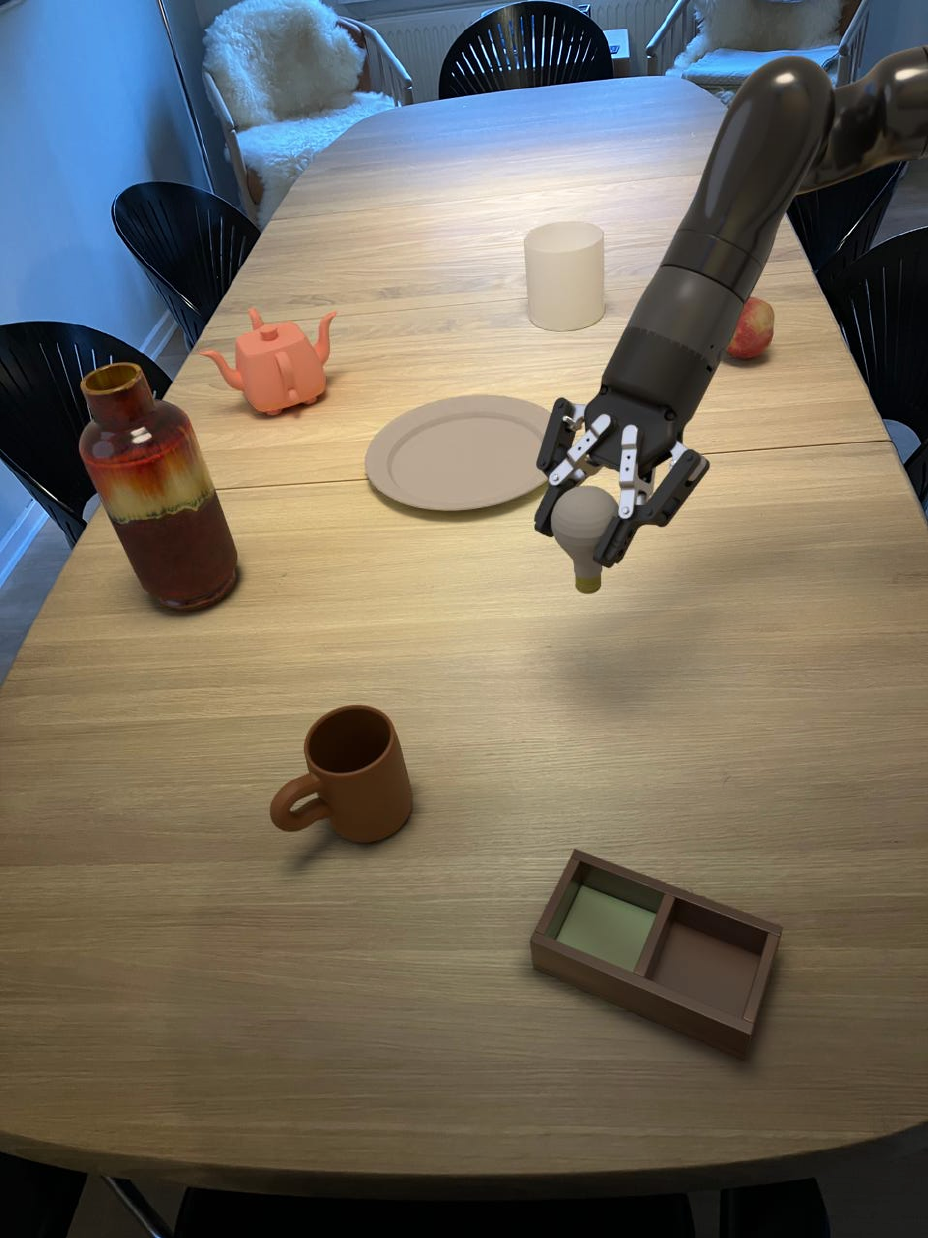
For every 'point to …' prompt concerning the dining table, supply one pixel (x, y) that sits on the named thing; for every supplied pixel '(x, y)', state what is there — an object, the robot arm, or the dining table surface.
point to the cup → (565, 275)
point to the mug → (349, 777)
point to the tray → (657, 951)
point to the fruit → (753, 329)
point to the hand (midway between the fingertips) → (572, 548)
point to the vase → (156, 490)
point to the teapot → (277, 364)
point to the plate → (460, 452)
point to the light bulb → (583, 530)
